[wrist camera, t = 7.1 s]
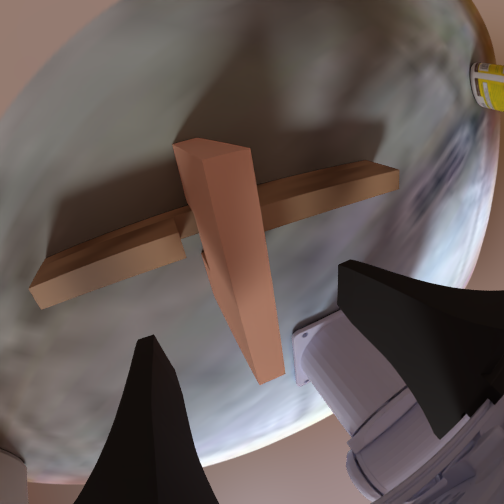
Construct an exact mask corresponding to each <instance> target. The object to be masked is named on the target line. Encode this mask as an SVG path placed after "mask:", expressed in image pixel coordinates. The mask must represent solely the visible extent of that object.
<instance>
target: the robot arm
mask: <svg viewBox="0 0 504 504" xmlns="http://www.w3.org/2000/svg"><path fill="white" fill-rule="evenodd" d="M337 305H338V306H339V307H340V309H341V310H339V311H337V312H335V313H333V314H331V315H329V316H327V317H325V318H323V319H321V320H319V321H317V322H315V323H312V324H310V325H308V326H306V327H304V328H302V329H300V330H297V331H296V332H294V333H293V335H292V344H293V355H294V366H295V378H296V384H297V386H303V385H305V384H307V383H309V382H312V384H313V385H314V387H315V388H316V389H317V391H318V392H319V394H320V395H321V396H322V398H323V399H324V401H325V402H326V403H327V405H328V406H329V408H330V409H331V410H332V412H333V413H334V414H335V416H336V417H337V418H338V420H339V421H340V423H341V424H342V425H343V427H344V428H345V429H346V431H347V432H348V433H349V435H350V436H351V437H352V438H351V439H350V440H349V441H348V442H347V444H348V445H349V447H350V448H351V450H350V451H348V453H347V462H346V467H347V471H348V474H349V476H350V478H351V480H352V482H353V484H354V485H355V486H356V487H357V489H358V490H359V491H360V493H361V494H362V495H363V496H365V497H366V498H367V499H368V500H370V501H371V502H372V503H371V504H504V290H502V291H481V290H469V289H459V288H452V287H447V286H442V285H437V284H432V283H428V282H424V281H420V280H417V279H413V278H410V277H406V276H403V275H400V274H397V273H393V272H390V271H387V270H384V269H381V268H378V267H375V266H372V265H369V264H365V263H362V262H359V261H355V260H348V261H346V262H343V263H341V264H339V265H338V301H337ZM74 504H219V503H218V501H217V499H216V497H215V495H214V493H213V491H212V488H211V486H210V484H209V482H208V480H207V477H206V475H205V473H204V471H203V468H202V466H201V463H200V461H199V458H198V455H197V452H196V449H195V446H194V442H193V438H192V434H191V430H190V426H189V421H188V417H187V412H186V408H185V403H184V399H183V394H182V391H181V388H180V385H179V381H178V378H177V375H176V372H175V369H174V368H173V366H172V365H171V363H170V361H169V360H168V358H167V356H166V355H165V353H164V351H163V350H162V348H161V346H160V344H159V343H158V341H157V339H156V337H155V336H154V335H151V336H148V337H145V338H142V339H138V341H137V343H136V347H135V351H134V355H133V359H132V362H131V366H130V370H129V374H128V377H127V381H126V384H125V388H124V391H123V395H122V398H121V401H120V404H119V407H118V410H117V414H116V417H115V420H114V422H113V425H112V428H111V431H110V433H109V436H108V438H107V441H106V443H105V445H104V448H103V450H102V452H101V454H100V457H99V459H98V461H97V463H96V465H95V467H94V469H93V471H92V473H91V475H90V477H89V478H88V480H87V482H86V484H85V486H84V488H83V489H82V491H81V493H80V494H79V496H78V498H77V499H76V501H75V502H74Z"/></svg>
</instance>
